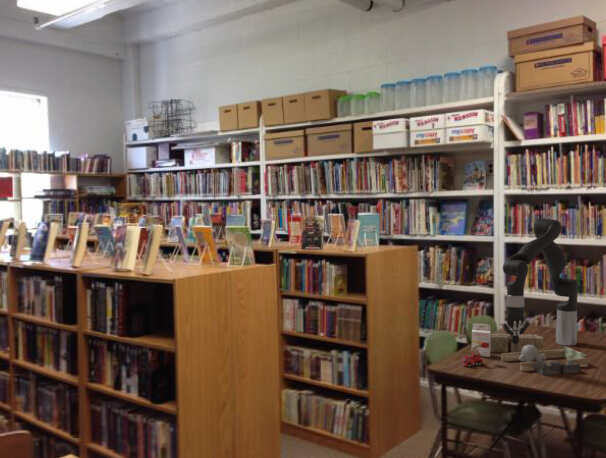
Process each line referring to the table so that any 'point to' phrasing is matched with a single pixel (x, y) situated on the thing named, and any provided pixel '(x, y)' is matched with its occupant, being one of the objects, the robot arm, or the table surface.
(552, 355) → the trap channel
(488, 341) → the ink cartridge box
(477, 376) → the table surface
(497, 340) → the block tower
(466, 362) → the toy fire truck
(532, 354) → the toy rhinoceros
